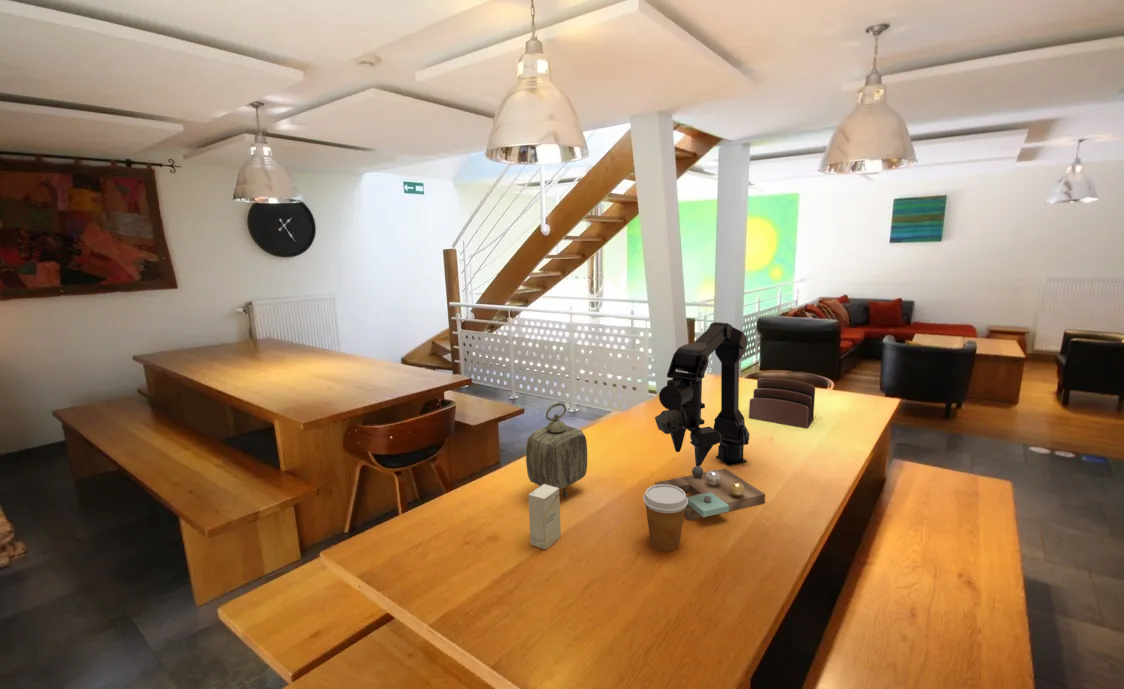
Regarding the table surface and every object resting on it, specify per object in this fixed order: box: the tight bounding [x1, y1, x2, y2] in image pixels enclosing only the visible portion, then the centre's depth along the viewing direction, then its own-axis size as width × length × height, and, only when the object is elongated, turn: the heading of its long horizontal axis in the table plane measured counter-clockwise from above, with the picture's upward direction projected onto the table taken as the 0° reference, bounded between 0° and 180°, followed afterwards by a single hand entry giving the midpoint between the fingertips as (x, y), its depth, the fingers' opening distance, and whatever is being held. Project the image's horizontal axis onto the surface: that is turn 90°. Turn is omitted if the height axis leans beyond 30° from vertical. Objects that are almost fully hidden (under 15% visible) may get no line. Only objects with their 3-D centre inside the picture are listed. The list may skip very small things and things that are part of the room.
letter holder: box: [748, 377, 816, 429], centre depth 187 cm, size 10×20×14 cm, turn 54°
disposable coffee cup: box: [642, 484, 688, 553], centre depth 115 cm, size 10×10×12 cm
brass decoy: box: [729, 482, 745, 497], centre depth 131 cm, size 4×4×4 cm
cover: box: [686, 492, 730, 518], centre depth 126 cm, size 7×7×2 cm
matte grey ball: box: [691, 465, 704, 477], centre depth 141 cm, size 3×3×3 cm
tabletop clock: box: [525, 402, 588, 498], centre depth 137 cm, size 14×9×25 cm, turn 134°
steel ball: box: [705, 469, 721, 486], centre depth 136 cm, size 4×4×4 cm
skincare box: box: [527, 484, 562, 550], centre depth 117 cm, size 6×4×12 cm
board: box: [654, 467, 766, 522], centre depth 136 cm, size 22×16×2 cm
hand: (687, 458), depth 132 cm, fingers open, 9 cm apart
